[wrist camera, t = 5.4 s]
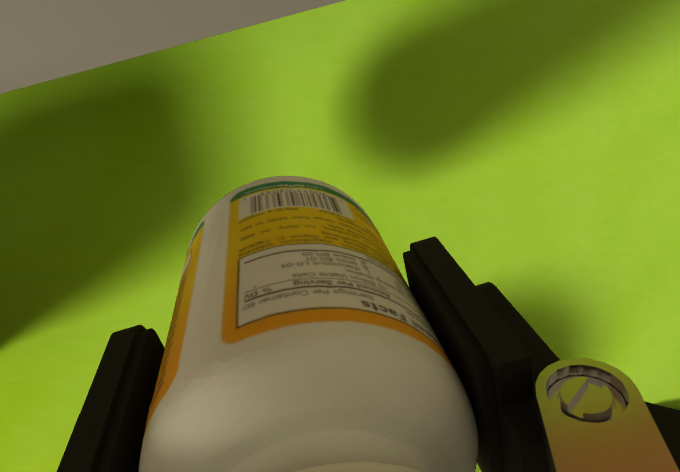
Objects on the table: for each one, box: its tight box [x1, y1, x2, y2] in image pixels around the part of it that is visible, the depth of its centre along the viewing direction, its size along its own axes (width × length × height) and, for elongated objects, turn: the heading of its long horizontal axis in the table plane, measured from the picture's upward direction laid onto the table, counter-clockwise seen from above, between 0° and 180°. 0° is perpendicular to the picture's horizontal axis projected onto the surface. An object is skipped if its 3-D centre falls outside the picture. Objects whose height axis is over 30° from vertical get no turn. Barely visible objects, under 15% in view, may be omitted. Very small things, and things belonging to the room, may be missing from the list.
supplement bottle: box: [139, 176, 478, 472], centre depth 9 cm, size 5×5×10 cm
